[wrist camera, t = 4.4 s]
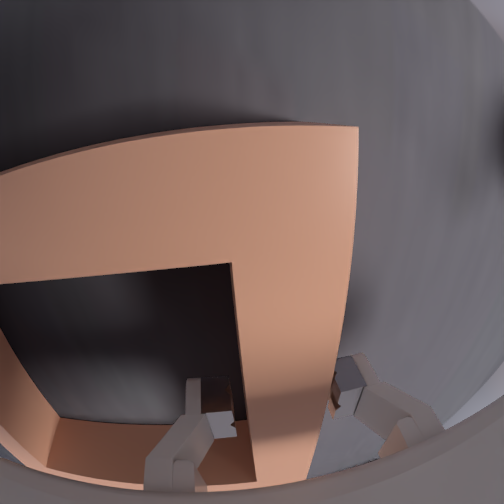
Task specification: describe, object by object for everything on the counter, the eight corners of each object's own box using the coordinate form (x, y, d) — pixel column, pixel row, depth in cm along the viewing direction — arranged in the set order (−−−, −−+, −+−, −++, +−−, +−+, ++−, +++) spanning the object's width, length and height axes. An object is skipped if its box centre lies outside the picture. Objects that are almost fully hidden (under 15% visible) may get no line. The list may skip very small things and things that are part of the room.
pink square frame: (299, 121, 8) (358, 127, 5) (289, 433, 16) (303, 486, 12) (-72, 203, 7) (-123, 237, 3) (50, 432, 14) (38, 475, 11)
